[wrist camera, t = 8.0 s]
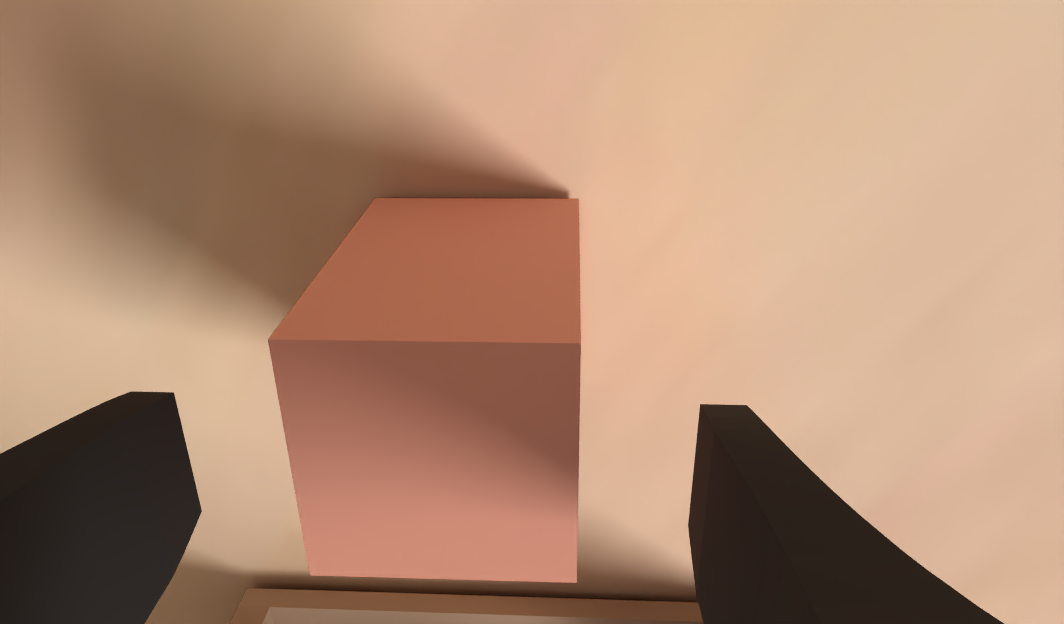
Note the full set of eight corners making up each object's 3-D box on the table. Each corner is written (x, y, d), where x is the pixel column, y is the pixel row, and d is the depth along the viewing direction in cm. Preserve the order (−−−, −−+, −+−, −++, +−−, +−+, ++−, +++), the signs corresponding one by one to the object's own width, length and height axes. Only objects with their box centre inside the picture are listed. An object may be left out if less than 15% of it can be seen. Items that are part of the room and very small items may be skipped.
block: (575, 376, 17) (576, 582, 12) (393, 374, 17) (310, 574, 12) (578, 198, 15) (580, 343, 10) (375, 197, 15) (268, 339, 10)
